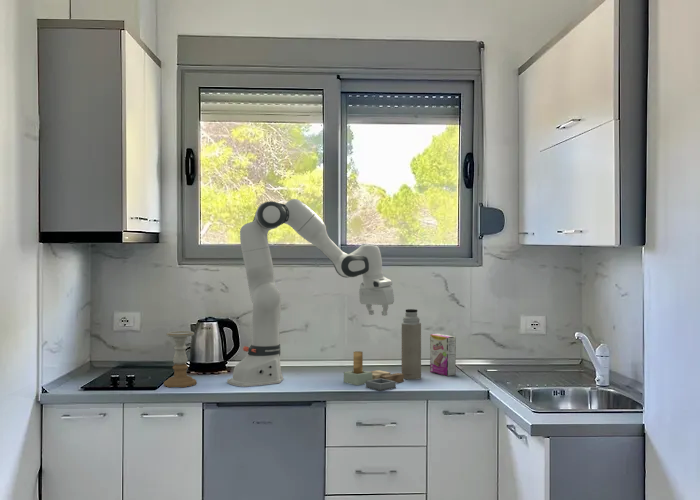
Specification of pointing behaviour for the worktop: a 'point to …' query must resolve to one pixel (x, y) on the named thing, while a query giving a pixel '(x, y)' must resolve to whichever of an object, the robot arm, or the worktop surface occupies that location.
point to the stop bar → (394, 377)
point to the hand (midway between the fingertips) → (378, 315)
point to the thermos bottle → (411, 345)
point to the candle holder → (180, 361)
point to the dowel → (357, 362)
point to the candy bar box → (443, 354)
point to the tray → (381, 384)
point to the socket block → (357, 377)
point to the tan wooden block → (378, 374)
